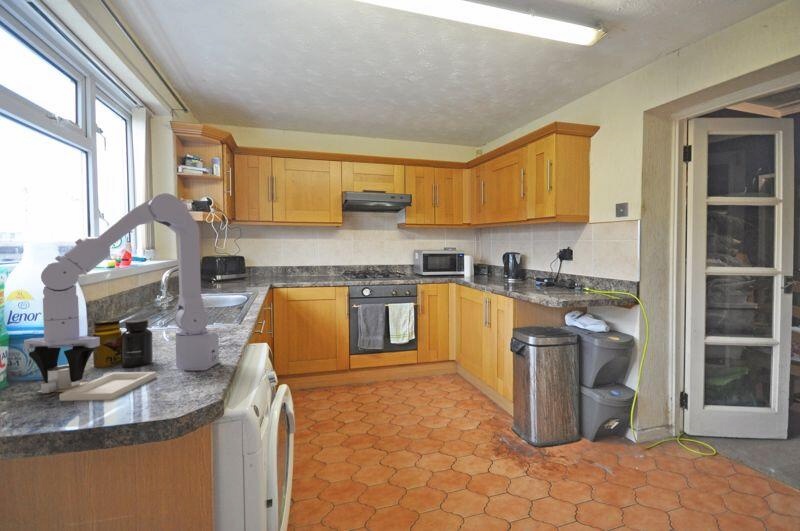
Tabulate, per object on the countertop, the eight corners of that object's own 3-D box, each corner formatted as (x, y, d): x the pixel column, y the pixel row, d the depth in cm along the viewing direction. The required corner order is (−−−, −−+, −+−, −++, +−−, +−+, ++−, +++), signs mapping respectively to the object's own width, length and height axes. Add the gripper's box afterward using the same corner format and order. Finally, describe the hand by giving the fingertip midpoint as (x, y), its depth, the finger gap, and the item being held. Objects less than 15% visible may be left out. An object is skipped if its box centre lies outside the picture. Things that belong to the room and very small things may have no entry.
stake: (88, 384, 85) (88, 368, 85) (65, 393, 79) (65, 376, 79) (61, 384, 85) (61, 369, 85) (36, 394, 79) (36, 377, 79)
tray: (156, 379, 88) (156, 371, 88) (111, 402, 74) (111, 393, 74) (112, 380, 88) (112, 372, 88) (59, 403, 74) (59, 394, 74)
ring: (84, 381, 85) (84, 364, 85) (57, 392, 78) (56, 373, 78) (62, 382, 85) (61, 364, 85) (32, 393, 78) (32, 374, 78)
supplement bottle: (128, 371, 95) (127, 323, 94) (116, 367, 98) (115, 321, 98) (158, 364, 100) (157, 319, 100) (145, 361, 104) (144, 317, 104)
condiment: (123, 367, 99) (122, 321, 99) (81, 372, 94) (79, 324, 94) (124, 360, 105) (123, 317, 105) (85, 366, 100) (84, 320, 100)
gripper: (8, 322, 78) (11, 387, 78) (80, 320, 78) (82, 386, 78) (40, 316, 85) (42, 376, 85) (106, 315, 85) (108, 375, 85)
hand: (63, 380), depth 82 cm, fingers closed on ring, 5 cm apart
